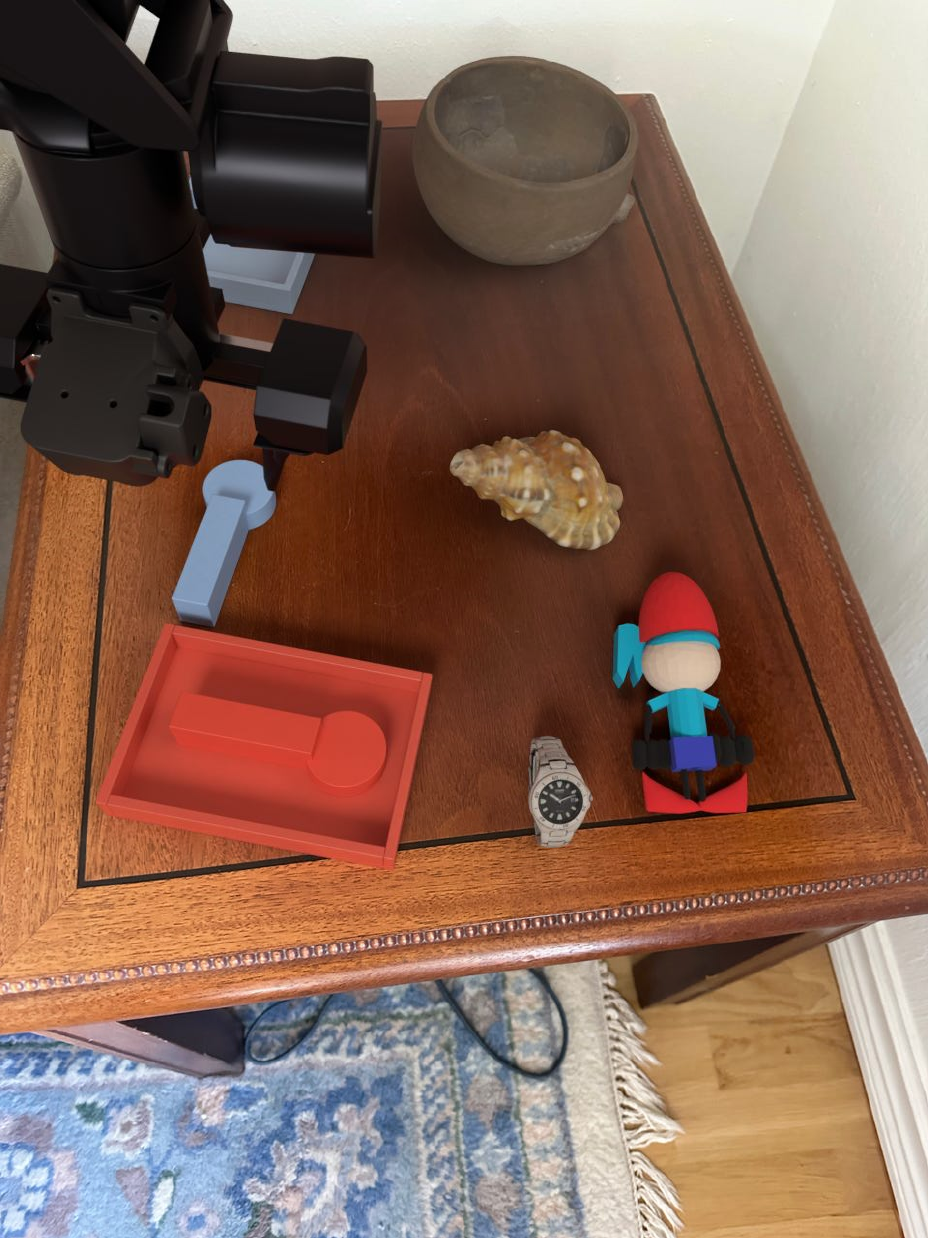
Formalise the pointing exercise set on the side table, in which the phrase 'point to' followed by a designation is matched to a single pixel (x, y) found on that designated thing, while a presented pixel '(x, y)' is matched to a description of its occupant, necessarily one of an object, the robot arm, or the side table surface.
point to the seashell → (545, 487)
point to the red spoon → (287, 740)
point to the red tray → (256, 790)
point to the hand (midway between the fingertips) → (192, 469)
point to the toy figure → (680, 695)
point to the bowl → (524, 159)
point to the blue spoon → (221, 538)
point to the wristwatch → (555, 793)
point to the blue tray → (256, 274)
